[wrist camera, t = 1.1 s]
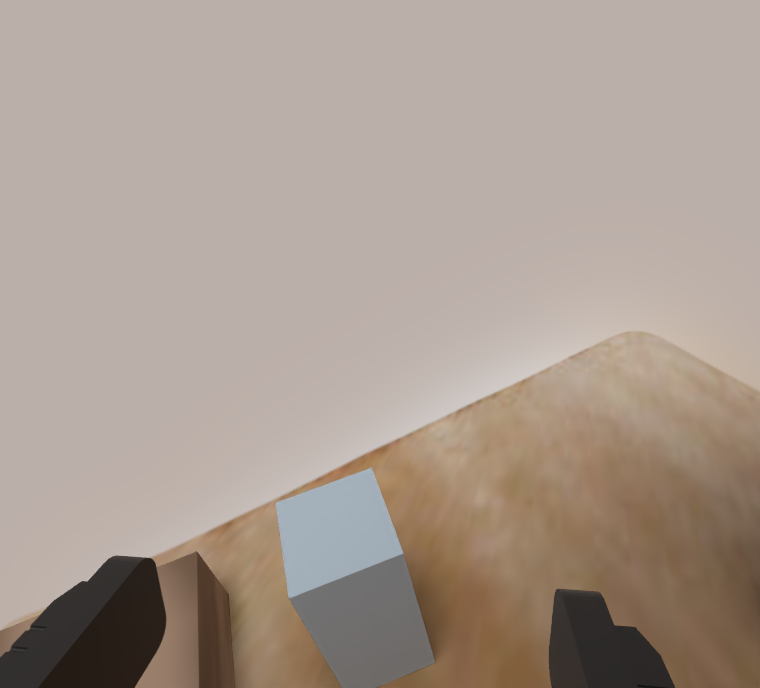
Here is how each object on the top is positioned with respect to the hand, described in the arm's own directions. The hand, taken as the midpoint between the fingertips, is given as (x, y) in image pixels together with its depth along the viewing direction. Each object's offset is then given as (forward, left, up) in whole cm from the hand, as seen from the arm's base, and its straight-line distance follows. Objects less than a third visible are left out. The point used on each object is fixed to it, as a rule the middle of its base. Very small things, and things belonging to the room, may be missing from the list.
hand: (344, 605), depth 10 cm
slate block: (+1, -10, -23) cm, 26 cm away
